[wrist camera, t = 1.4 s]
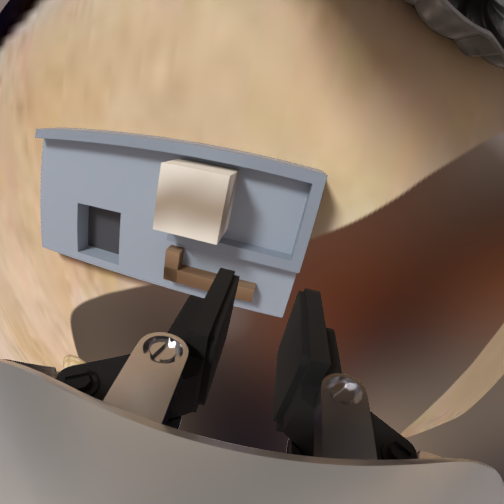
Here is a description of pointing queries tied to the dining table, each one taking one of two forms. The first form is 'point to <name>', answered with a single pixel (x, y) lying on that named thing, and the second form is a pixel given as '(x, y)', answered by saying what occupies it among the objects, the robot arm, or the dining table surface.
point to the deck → (143, 208)
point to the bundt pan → (467, 25)
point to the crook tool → (198, 275)
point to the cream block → (194, 199)
